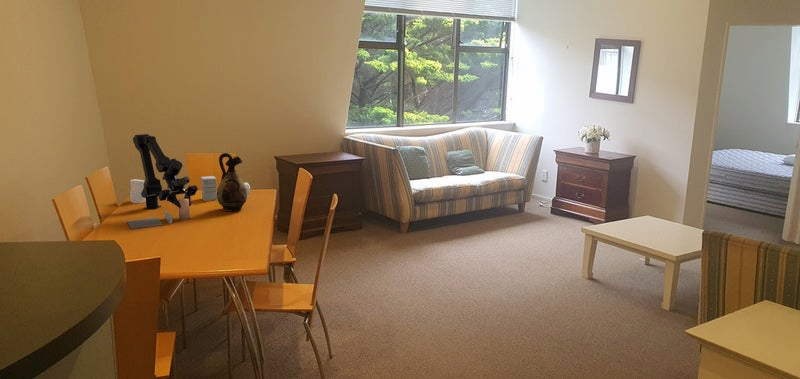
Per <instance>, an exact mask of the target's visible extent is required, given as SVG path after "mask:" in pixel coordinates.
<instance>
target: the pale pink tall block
mask: <svg viewBox="0 0 800 379" xmlns="http://www.w3.org/2000/svg"><path fill="white" fill-rule="evenodd" d="M177 200H178V202H179V203H180V206H181V207H180V208H179V207H178V219H179V221H189V220H190V219H191V213H190V212H191V211H190V206H189V199H188V198H184V197H183V198H177Z"/></svg>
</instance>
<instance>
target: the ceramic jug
mask: <svg viewBox="0 0 800 379" xmlns="http://www.w3.org/2000/svg"><path fill="white" fill-rule="evenodd" d="M224 158H228V160H227V161H226V162H225V165H224V162H223V160H224ZM243 162H244V161H243V160H242V159H241V158H240V156H234V157H233V156H232V155H231V154H230V153H228V152H223V153H222V154H220V155H219V157H218V163H219V167H220V169H221V172H222V175H221V180H220V183H219V185H218V187H217V200H216V201H217V202H218V204H219V205H220V206H221V207H222V210H223V211H225V212H233V213H234V212H240V211H242V207H243V206H244V204H246V202H247V200H248V197H247V191H246V187H245V185H244V183H245V182H244V181H243V180H242V178H241V176H240V175H239V174H238V173H237V171H236V166H238V165H240V164H243ZM225 166H226V167H227V170H226V168H225Z"/></svg>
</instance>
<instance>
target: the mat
mask: <svg viewBox="0 0 800 379" xmlns="http://www.w3.org/2000/svg"><path fill="white" fill-rule="evenodd" d="M127 223H128V224H127ZM126 224H127V225H128V227H129V228H130V230H136V229H145V227H146V228H153V226H154V227H159V226H161V227H162V226H164V224H163V222H162V221H161V220H160V219H159V217H151V218H143V219H133V220H127V221H126Z"/></svg>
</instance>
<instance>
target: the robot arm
mask: <svg viewBox="0 0 800 379" xmlns="http://www.w3.org/2000/svg"><path fill="white" fill-rule="evenodd" d="M132 142H133V144H134V147H135V148H136V149H137V151H138V152H139V154H140V159H141V164H142V168H143V173H144V176H145V182H144V184H143V185H144V188H143V190H142V192H141V195H142V197H144V198H146V202H145V206H144V207H143V209H146V210H156V209H159V208H160V207H162V205H159V202H163V201H166V202H170V203H171V204H173V205H174V206H176V207H177V208H178V209H179V208H180V207H181V206H180V203H179V202H178V198H177V195H178V196H179V195H184V197H183V198H188V199H189V207H191V205H192V201H191V197H193V196H195V195H196V193H197V191H198V190H199V188H198V186H197V185H195V184H194V185H188V183H189V184H190V182H191V181H190V178H189V176H183V177H181V178H178V175H179V174H180V172H181V170H182V169H183V163H182V162H181V161H179V160H177V159H176V158H171V159H170V157H168V156H166V155H165V153H164V152H163V150H162V148H161V147H160V146H159V143H158V142H157V139H156V136H154V135H150V134H148V133H143V134H134V136H133V137H132ZM152 157H153V158H154V160H155V164H154V165H153V160H152ZM154 166H155V168H156V171H158V172H159V173H163V175H162V180H163V181H165V182H166V184H167V189H163V187H162V184H161V180H160V179H159V178H157V176H156V175H155V170H154ZM186 185H188V187H187V188H186V189H185V187H186Z"/></svg>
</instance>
